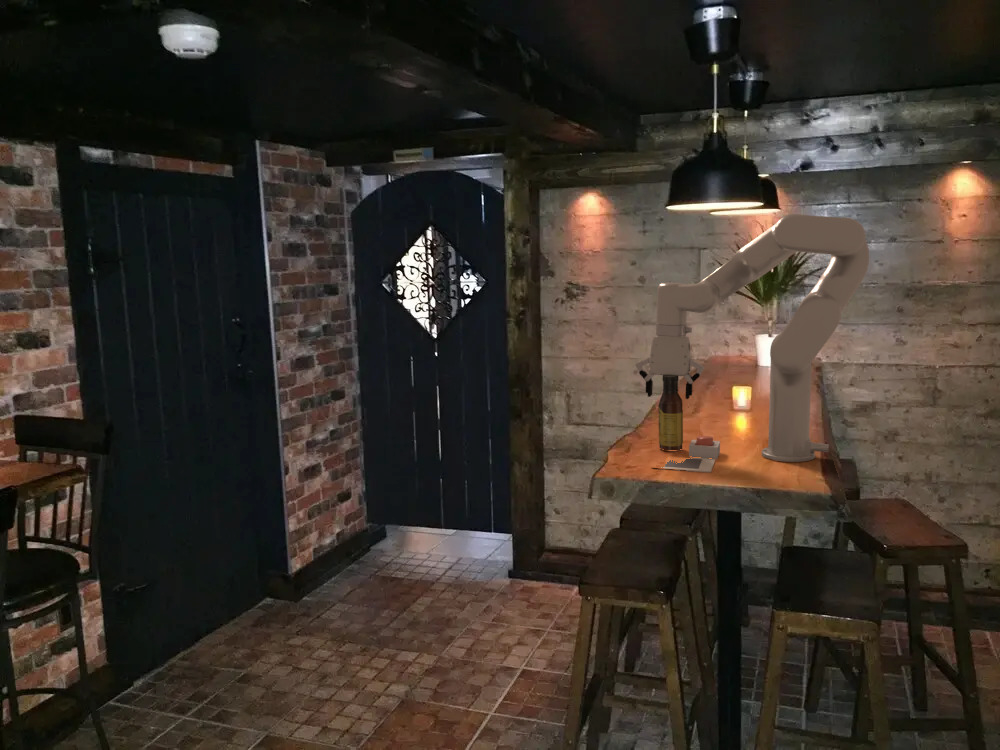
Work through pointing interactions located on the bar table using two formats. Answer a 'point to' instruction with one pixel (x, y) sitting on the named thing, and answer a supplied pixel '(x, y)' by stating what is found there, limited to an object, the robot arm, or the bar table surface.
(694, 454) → the button housing
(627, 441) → the bar table surface
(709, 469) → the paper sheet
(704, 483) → the bar table surface
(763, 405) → the bar table surface
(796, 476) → the bar table surface
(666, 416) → the sauce bottle
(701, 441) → the button
